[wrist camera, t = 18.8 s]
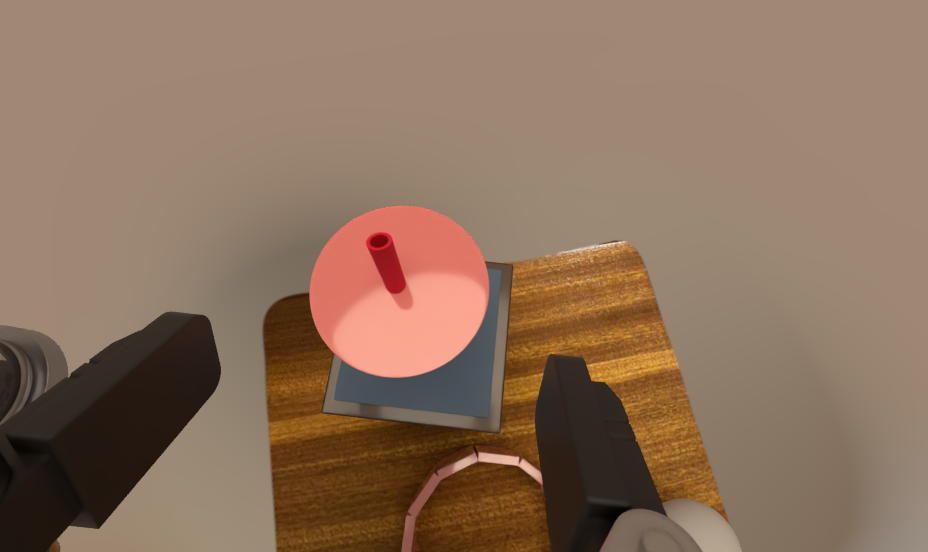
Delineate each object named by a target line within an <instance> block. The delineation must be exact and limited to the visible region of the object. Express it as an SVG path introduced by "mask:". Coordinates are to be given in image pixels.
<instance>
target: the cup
mask: <svg viewBox="0 0 928 552" xmlns="http://www.w3.org/2000/svg"><path fill="white" fill-rule="evenodd" d="M488 299H489V278H488V272H487V268H486V264H485V261H484V259H483V256H482V254H481V252H480V250H479V248H478V246H477V245H476V243H475V242H474V240H473V239H472V238H471V237H470V235H469V234H468V233H467V232H466V231H465V230H464V229H463V228H462V227H461V226H459V225H458V224H457V223H455V222H454V221H452V220H451V219H449V218H448V217H446V216H444V215H442V214H440V213H438V212H435V211H432V210H429V209H426V208H421V207H415V206H391V207H384V208H380V209H377V210H373V211H370V212H368V213H365V214H363V215H361V216H359V217H357V218H355V219H353V220H352V221H351V222H349V223H348V224H346V225H345V226H344V227H342V228H341V229H340V230H339V231H338V232H337V233H336V234H335V235H334V236H333V237H332V238H331V239H330V240H329V242H328V243H327V244H326V246H325V247H324V249H323V250H322V252H321V254H320V255H319V258H318V259H317V262H316V264H315V267H314V270H313V274H312V277H311V283H310V307H311V312H312V316H313V320H314V323H315V325H316V328H317V330H318V332H319V334H320V336H321V337H322V339H323V340H324V342H325V343H326V344H327V346H328V347H329V348H330V349H331V350H332V351H333V352H334V353H335V354H336V355H337V356H338V357H339V358H340V359H342V360H343V361H344V362H346V363H347V364H349V365H350V366H352V367H354V368H356V369H358V370H360V371H363V372H365V373H368V374H372V375H376V376H381V377H390V378H402V377H411V376H416V375H420V374H424V373H427V372H430V371H432V370H435V369H437V368H439V367H441V366H443V365H444V364H446V363H448V362H449V361H451V360H452V359H453V358H455V357H456V356H457V355H458V354H459V353H460V352H462V351H463V350H464V349H465V347H466V346H467V345H468V344H469V343H470V342H471V340H472V339H473V338H474V336H475V335H476V333H477V331H478V330H479V328H480V326H481V324H482V321H483V319H484V316H485V313H486V310H487V305H488Z"/></svg>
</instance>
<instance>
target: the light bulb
mask: <svg viewBox="0 0 928 552" xmlns="http://www.w3.org/2000/svg"><path fill="white" fill-rule="evenodd" d="M662 505H663V507H664V510H665V512H666V514H667V516H668V518H670V519H671V520H673V521H674V522H676V523H677V524H678V525H680V526H681V527H682V528H683V529H684V530H685V531H687V532H688V533H689V534H690V536H691V537H692V538H693V539H694V540H695V541H696V543H697V544H698V546H699V547H700V548H701V550H702V552H742V550H741V548H740V544H739V542H738V539H737V537H736V535H735V533H734V531H733V530H732V528H731V527H730V525H729V524H728V523H727V521H726V520H725V519H724V518H723V517H722V516H721V515H720V514H719V513H717V512H716V511H715V510H713V509H712V508H711V507H709V506H707V505H705V504H703V503H701V502H698V501H696V500H692V499H687V498H677V499H671V500H668V501H666V502H664V503H662Z"/></svg>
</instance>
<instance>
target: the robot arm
mask: <svg viewBox="0 0 928 552" xmlns="http://www.w3.org/2000/svg"><path fill="white" fill-rule="evenodd" d="M220 375H221V366H220V362H219V357H218V353H217V349H216V345H215V340H214V336H213V332H212V327H211V323H210V321H209V319H208V318H207V317H206V316H204V315H197V314H189V313H180V312H166V313H164V314H162V315H161V316H160V317H158V318H157V319H156V320H154V321H153V322H152V323H151V324H149V325H148V326H147V327H145V328H144V329H142V330H141V331H138V332H135V333H133V334H131V335H129V336H127V337H125V338H123V339H120V340H118V341H116V342H114V343H112V344H110V345H109V346H108V347H106V348H105V349H104V350H102V351H101V352H99V353H98V354H97V355H95V356H94V357H93V358H91V359H90V362H89V363H84V364H83V365H82V366H80V367H79V368H78V369H76V370H75V371H74V372H72V373H71V376H70V377H69V378H67V377H65V378H64V379H63V380H61V381H60V382H59V383H57V384H56V385H54V386H53V387H52V388H50V389H49V390H48V391H46V392H45V393H44V394H42V395H41V396H39V397H38V398H37V399H35V400H34V401H33V402H31V403H30V404H29V405H27V406H26V407H24V405H25V403H26V401H27V399H28V396H29V393H30V390H31V385H32V367H31V364H30V361H29V358H28V357H27V355H26V354H25V352H24V351H23V350H22V349H21V348H20V347H18V346H17V345H15V344H13V343H11V342H9V341H5V340H1V339H0V552H60V545H59V542H58V541H57V538H58V537H59V536H60V535H61V534H62V533H63V532H64V531H65V530H66V529H67V527H68V526H77V527H86V528H95V529H99V528H100V527H101V526H102V524H103V523H104V522H105V521H106V520H107V519H108V517H109V516H110V515H111V514H112V513H113V511H114V510H115V509H116V508H117V507H118V505H119V504H120V503H121V502H122V501H123V500H124V498H125V497H126V496H127V495H128V494H129V492H130V491H131V490H132V489H133V488H134V487H135V485H136V484H137V483H138V482H139V481H140V479H141V478H142V477H143V476H144V475H145V473H146V472H147V471H148V470H149V469H150V467H151V466H152V465H153V464H154V463H155V462H156V460H157V459H158V458H159V457H160V456H161V454H162V453H163V452H164V451H165V450H166V449H167V447H168V446H169V445H170V444H171V443H172V441H173V440H174V439H175V438H176V437H177V436H178V434H179V433H180V432H181V431H182V430H183V428H184V427H185V426H186V425H187V423H188V422H189V421H190V420H191V419H192V418H193V417H194V415H195V414H196V413H197V412H198V411H199V409H200V408H201V407H202V406H203V405H204V403H205V402H206V401H207V400H208V399H209V398H210V396H211V395H212V394H213V393H214V391H215V389H216V387H217V385H218V383H219V379H220ZM23 407H24V408H23ZM22 408H23V409H22ZM535 429H536V437H537V445H538V452H539V460H540V467H541V475H542V483H543V490H544V498H545V505H546V513H547V521H548V528H549V536H550V543H551V551H552V552H702V550H701V548H700V547H699V546H698V544H697V543H696V541H695V540H694V539H693V538H692V537H691V536H690V534H689V533H688V532H687V531H685V530H684V529H683V528H682V527H681V526H680V525H678V524H677V523H676V522H674V521H673V520H671V519H670V518H668V516H667V514H666V512H665V510H664V507H663V505H662V502H661V500H660V497H659V495H658V492H657V490H656V487H655V485H654V482H653V480H652V477H651V475H650V472H649V470H648V467H647V465H646V462H645V460H644V457H643V455H642V452H641V450H640V447H639V445H638V442H636V441H635V438H636V437H635V435H634V432H633V430H632V427H631V425H630V424H629V420H628V417H627V415H626V412H625V410H624V407H623V405H622V402H621V400H620V399H619V398H618V397H617V396H616V394H615V393H614V392H613V391H612V390H611V389H610V388H609V387H608V385H607V384H606V383H604V382H595V381H591V378H590V375H589V372H588V369H587V366H586V363H585V361H584V359H583V358H581V357H572V356H563V355H554V354H550V355H549V357H548V359H547V362H546V367H545V371H544V375H543V379H542V383H541V387H540V391H539V396H538V400H537V405H536V413H535Z"/></svg>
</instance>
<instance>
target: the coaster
mask: <svg viewBox="0 0 928 552" xmlns="http://www.w3.org/2000/svg"><path fill="white" fill-rule="evenodd" d="M487 272H488V278H489V299H488V305H487V310H486V313H485V316H484V319H483V321H482V324H481V326H480V328H479V330H478V331H477V333H476V335H475V336H474V338H473V339H472V340H471V342H470V343H469V344H468V345H467V346H466V347H465V349H464V350H463V351H462V352H460V353H459V354H458V355H457V356H456V357H455V358H453V359H452V360H451V361H449V362H448V363H446V364H444V365H443V366H441V367H439V368H437V369H435V370H432V371H430V372H427V373H424V374H420V375H416V376H411V377H402V378H390V377H381V376H376V375H372V374H368V373H365V372H363V371H360V370H358V369H356V368H354V367H352V366H350V365H349V364H347V363H346V362H344V361H343V360H342V359H341V364H340V369H339V374H338V379H337V384H336V389H335V394H334V400H337V401H345V402H354V403H362V404H371V405H380V406H388V407H397V408H406V409H414V410H423V411H432V412H440V413H449V414H457V415H466V416H475V417H483V418H489V413H490V401H491V390H492V378H493V367H494V355H495V343H496V332H497V320H498V309H499V297H500V286H501V274H502V270H495V269H487Z"/></svg>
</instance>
